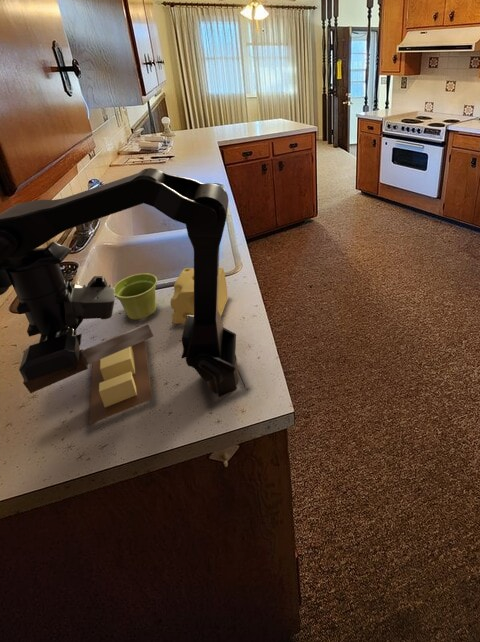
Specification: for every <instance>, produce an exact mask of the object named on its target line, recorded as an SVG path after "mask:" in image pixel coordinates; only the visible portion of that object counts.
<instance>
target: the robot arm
mask: <svg viewBox="0 0 480 642" xmlns="http://www.w3.org/2000/svg"><path fill="white" fill-rule="evenodd" d="M143 204H145V205H148V206H149V207H153V208H154V209H156V210H157V211H158V212H160V213H162V214H164V215H165V216H166V217H168V218H169V219H172V220H173V221H175V222H178V223H181V224H184V225H185V227H186V232H187V236H188V237H187V238H188V239H189V241H190V244H191V246H192V249H193V268H194V316H191V315H187V318H186V322H185V323H184V325H183V326H184V327H183V331H182V335H181V344H182V348H183V349H182V353H181V359H185V363H186V365H187V367H191V368H193V369H194V370H195V372H196V373H197V374H198V375H199V376H200V377H201V379H202V380H203V381H204V382H206V383H207V386H208V390H209V391H210V392H211V393H213V394H215V395H216V394H217V397H219V398H221V397H223V396H225V395H227V394H230V393H232V392H235V391H237V390H238V387H237V385H238V384H239V381H240V379H241V382H242V384H243V387H244V388H246V385H245V382H244V380H243V378H242V375H241V373H240V371H239V365H238V360H237V355H236V351H237V350H236V349H237V343H236V342H237V333H235V332H233V331H231V330H229V329H228V328H226V327H224V326H223V320H222V315H221V316H220V314H219V312H218V277H219V268H220V247H221V242H222V239H223V234H224V231H225V225H226V222H227V216H228V209H229V195H228V193H227V191H226V190H225V189H224V188H223V187H222V186H220V185H218V184H216V183H211V182H206V183H205V182H204V183H203V182H201V181H198V180H196V179H192V178H190V177H186V176H179V175H175V174H171V173H167V172H165V171H163V170H160V169H157V168H153V167H149V168H144V169H141V170H140V171H139V172H137V173H134V174H131V175H128V176H125V177H123V178H119V179H116V180H113V181H111V182H108V183H104V184H101V185H99V186H95V187H93V188H89V189H87V190H84V191H81V192H78V193H75V194H72V195H69V196H66V197H63V198H56V199H38V200H31V201H25V202H20V203H16V204H14V205H12V206H11V207H9V208H8V209H6V210H4V211H3V212H1V213H0V296H2V295H3V294H5V293H6V292H7V291H9V289H10V287H12V288H13V290H14V293H15V294H16V296H17V299H18V303H17V307H16V311H17V313H18V315H22V314H24V315H25V317H26V319H27V321H28V327H27V330H26V333H27V335H28V337H30V338H31V337H34V336H37V335H40V336H39V341H38V343H37V342H36V343H34V344H31V345H29V346H28V347H27V349H26V350H25V351H24V352H23V355H22V358H21V362H20V366H19V368H18V371H19V372H20V374H21V377H22V379H23V381H24V380H26V381H30V380H33V379H36V378H39V377H42V376H45V375H48V374H51V373H54V372H57V371H60V370H63V371H66V372H68V373H70V372H73V371H75V370H76V363H77V362H78V361H79V352H80V350H81V349H80V346H81V344H82V335H83V334H82V333H79V334H77V329H78V328H79V326H81V324H82V322H83V321H84V320H94V319H100V320H108V319H110V318H112V316H113V311H114V306H115V300H116V296H115V290H114V287H113V285H112V284H108V282H107V280H106V278H105V276H104V275H103V276H102V275H94V276H93V277H92V278H91V279H90V280H89V281H88V283H87V284H83V285H79V284H76V283H73V282H72V281H70V280H69V279H65V277H64V274H63V271H62V269H61V266H60V264H61V263H62V262H63V261H64V260H65V259H66V258H67V257H68V256H69V255H70V253H72V248H70V247H68V246H66V245H62V244H59V243H57V242H55V241H51V240H52V239H54V238H55V237H57V236H58V235H60V234H62V233H64V232H67V230H71V229H73V228H76V227H79V226H82V225H85V224H88V223H91V222H94V221H98V220H100V219H102V218H105V217H108V216H111V215H113V214H116V213H120V212H123V211H125V210H128V209H132V208H134V207H137V206H140V205H143ZM49 241H51V242H50V243H49V244H48V245H47V246H45V247H41V246H43V245H44V244H46V243H48V242H49Z"/></svg>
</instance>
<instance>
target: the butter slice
mask: <svg viewBox="0 0 480 642" xmlns="http://www.w3.org/2000/svg"><path fill="white" fill-rule="evenodd" d="M99 393H100V396H101V398H102V401H103V404H104V407H108V406H110V405H113V404H115V403H118V402H120V401H123V400H125V399H128V398H131V397H133V396H136V395H137V394H136V386H135V382H134V379H133V376H132V373H131V372H128V373H126V374H123V375H120V376H117V377H115V378H112V379H109V380H106V381H104V382H101V383H99Z"/></svg>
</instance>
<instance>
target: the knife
mask: <svg viewBox="0 0 480 642" xmlns="http://www.w3.org/2000/svg"><path fill="white" fill-rule="evenodd" d="M154 337H155V335H154V333H153V331H152V329H151V326H150V324H149V323H145V324H143V325H140V326H138V327H135V328H133V329H130V330H128V331H126V332H123V333H121V334H118V335H115V336H114V337H111V338H109V339H106V340H104V341H101V342H98V343H96V344H94V345H91V346H89V347H87V348H84V349H83V348H81V349H80V352H79V361H78V362H77V363H76V370H75V371H73V372H70V373H68V372H66V371H63V370H60V371H57V372H54V373H51V374H48V375H45V376H42V377H39V378H36V379H33V380H30V381H26V380H24V379H23V382H22V384H23V385H24V387H25V388H26V390H28V392H29V393H30V394H33V393H35V392H37V391H39V390H42V389H45V388H47V387H49V386H52V385H54V384H56V383H58V382H61V381H63V380H65V379H68V378H70V377H72V376H75V375H77V374H79V373H81V372H84V371H87V370H88V369H89V365H91V364H93V362H95V361H98V360H100V359H102V358H105V357H107V356H109V355H112V354H114V353H116V352H119V351H121V350H123V349H126V348H128V347H131V346H133V345H135V344H138V343H140V342H142V341H145V342H146V341H148V340H149V339H151V338H154Z"/></svg>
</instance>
